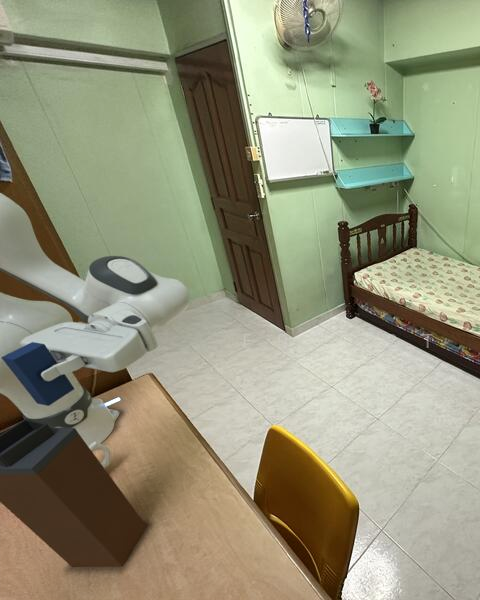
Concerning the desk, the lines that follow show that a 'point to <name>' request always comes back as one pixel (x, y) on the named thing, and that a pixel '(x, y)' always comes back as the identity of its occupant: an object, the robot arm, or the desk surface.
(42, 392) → the small dark blue block
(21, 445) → the tall brown bin
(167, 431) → the desk surface
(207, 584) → the desk surface
